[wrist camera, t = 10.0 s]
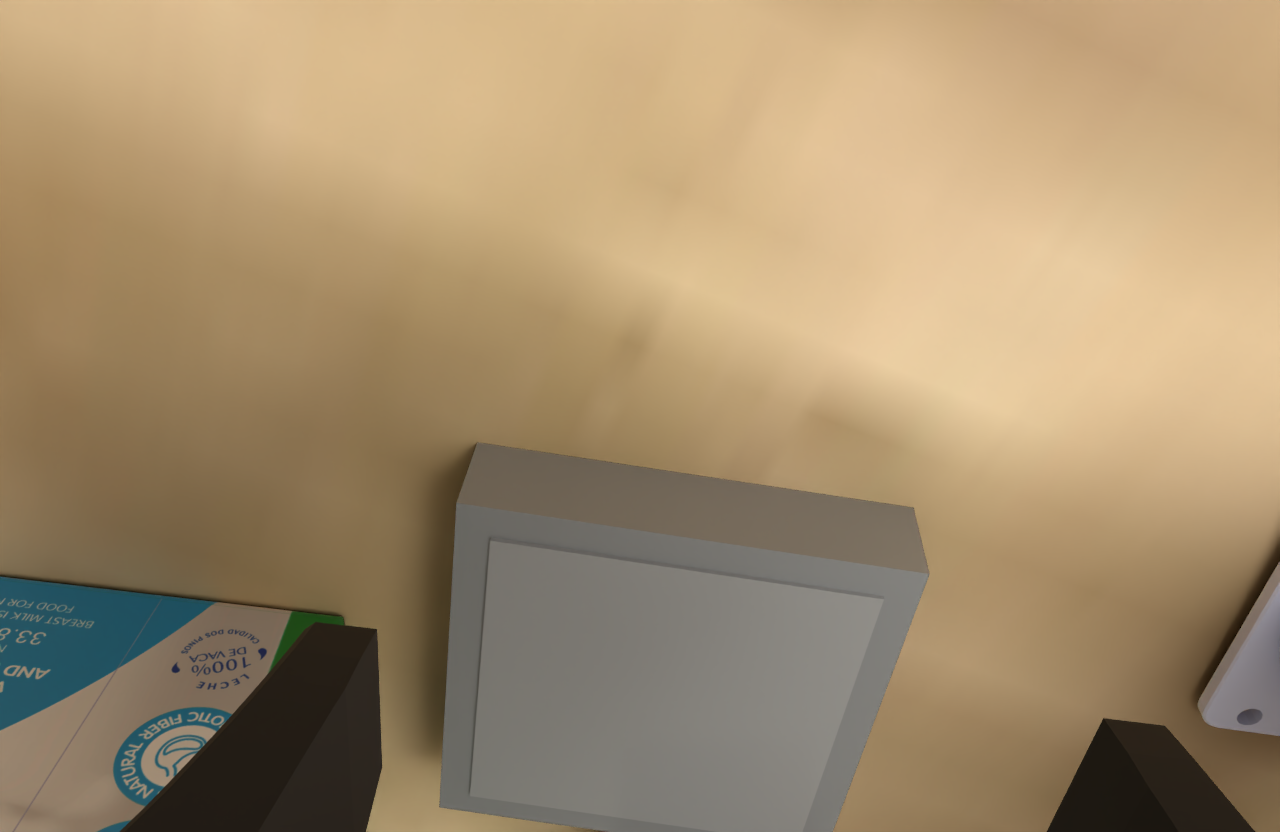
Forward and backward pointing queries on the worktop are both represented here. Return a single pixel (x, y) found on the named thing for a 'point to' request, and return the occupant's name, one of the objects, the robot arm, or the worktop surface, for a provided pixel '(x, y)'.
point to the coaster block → (666, 645)
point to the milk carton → (118, 694)
